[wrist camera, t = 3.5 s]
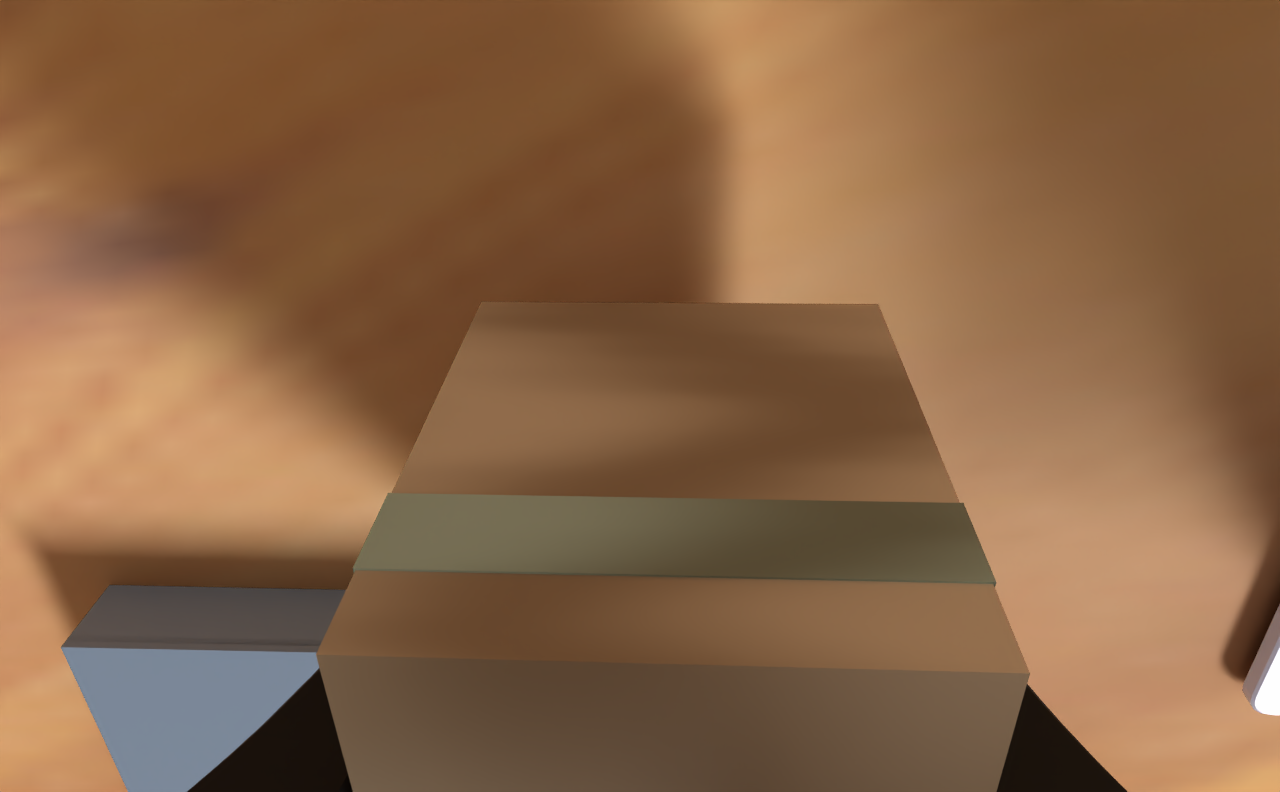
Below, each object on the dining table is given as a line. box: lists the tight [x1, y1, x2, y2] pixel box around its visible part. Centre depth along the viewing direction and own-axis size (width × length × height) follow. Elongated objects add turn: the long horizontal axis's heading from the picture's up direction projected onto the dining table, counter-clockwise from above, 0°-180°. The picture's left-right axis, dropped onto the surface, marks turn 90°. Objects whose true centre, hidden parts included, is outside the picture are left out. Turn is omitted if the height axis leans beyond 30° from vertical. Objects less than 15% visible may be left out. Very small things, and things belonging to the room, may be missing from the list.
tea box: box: [316, 302, 1030, 792], centre depth 11 cm, size 5×7×6 cm
